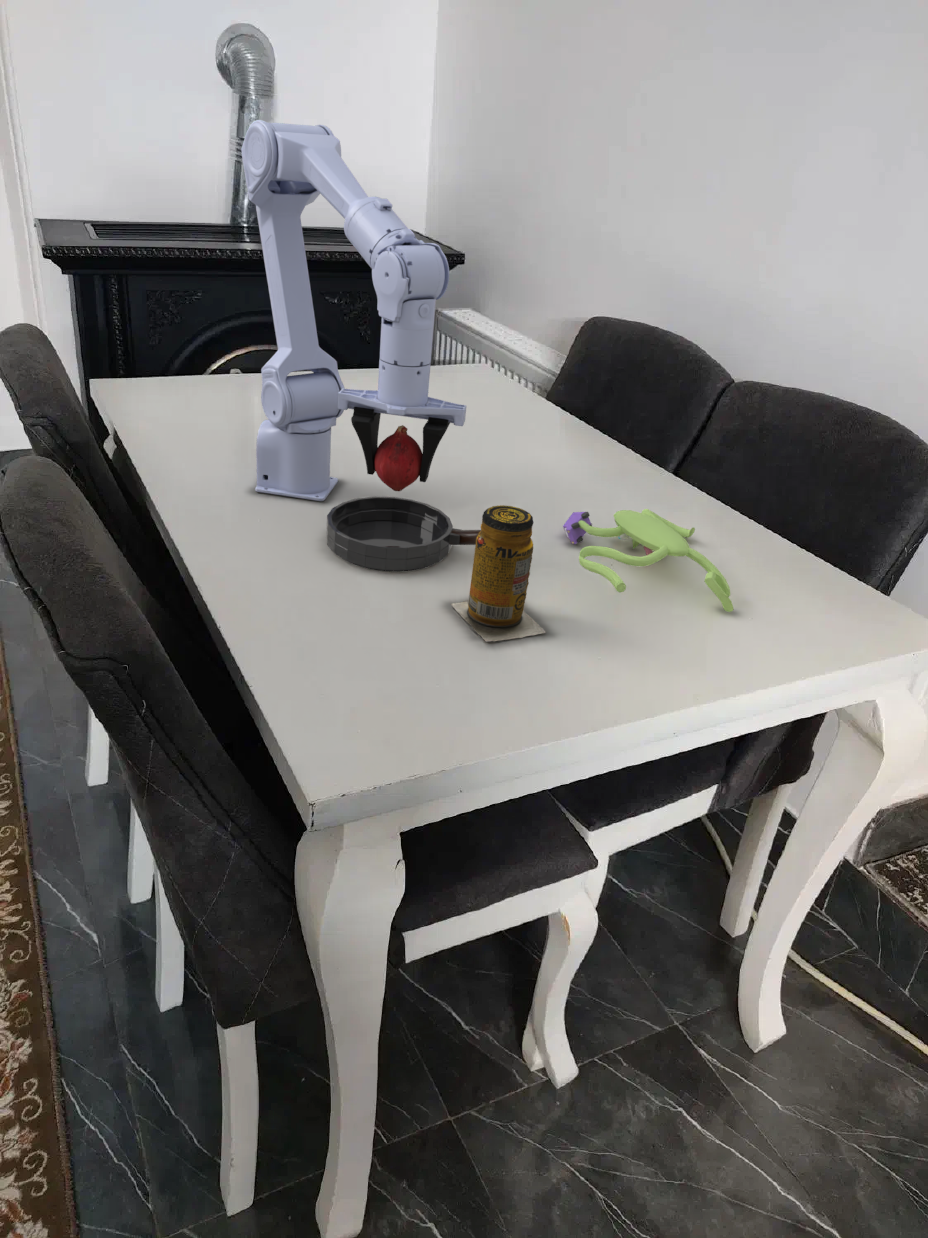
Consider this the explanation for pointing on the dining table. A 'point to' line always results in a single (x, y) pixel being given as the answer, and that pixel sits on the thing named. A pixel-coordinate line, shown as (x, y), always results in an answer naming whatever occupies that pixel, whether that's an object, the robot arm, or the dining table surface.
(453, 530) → the pan handle
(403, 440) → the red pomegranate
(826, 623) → the dining table surface
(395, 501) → the pan
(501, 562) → the condiment
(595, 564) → the figurine
